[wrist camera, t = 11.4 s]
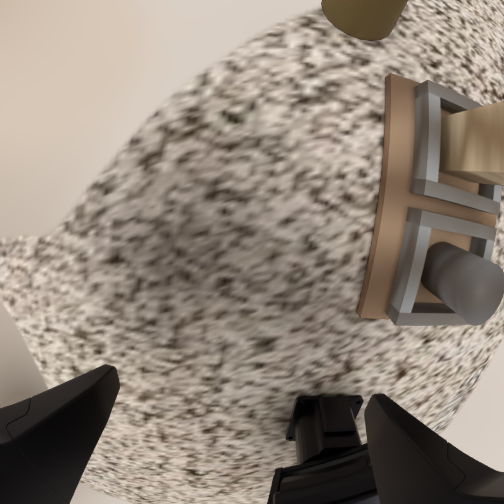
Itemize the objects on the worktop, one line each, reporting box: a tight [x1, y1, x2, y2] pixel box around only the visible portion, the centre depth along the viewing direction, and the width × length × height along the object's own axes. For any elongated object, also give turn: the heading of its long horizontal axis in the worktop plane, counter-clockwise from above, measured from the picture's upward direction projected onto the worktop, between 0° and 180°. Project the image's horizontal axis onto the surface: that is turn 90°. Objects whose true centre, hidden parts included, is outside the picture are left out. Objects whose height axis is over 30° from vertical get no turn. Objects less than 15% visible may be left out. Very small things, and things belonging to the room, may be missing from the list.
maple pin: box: [439, 101, 504, 186], centre depth 12 cm, size 4×4×8 cm
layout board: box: [357, 73, 504, 326], centre depth 14 cm, size 18×12×7 cm, turn 175°
